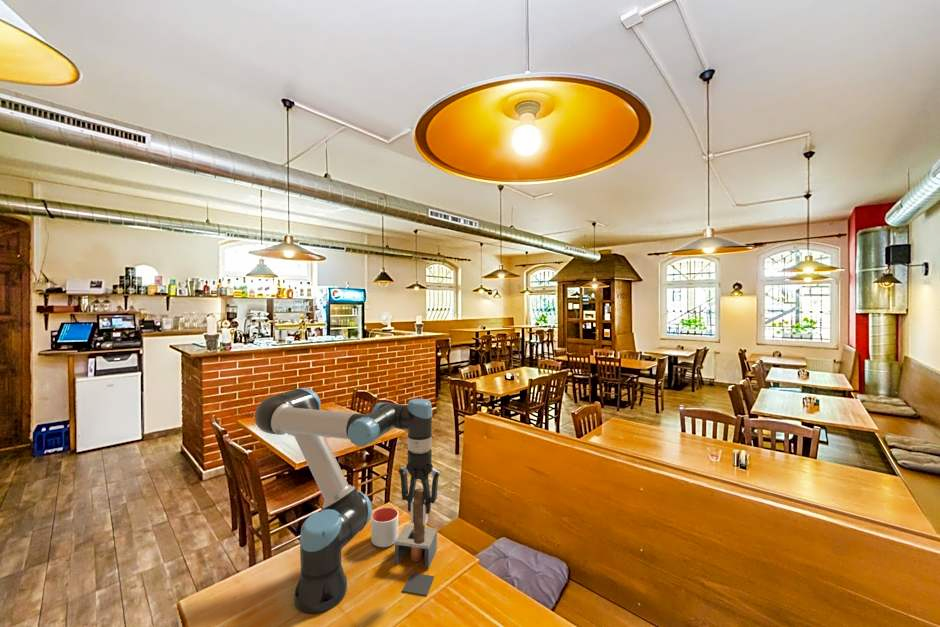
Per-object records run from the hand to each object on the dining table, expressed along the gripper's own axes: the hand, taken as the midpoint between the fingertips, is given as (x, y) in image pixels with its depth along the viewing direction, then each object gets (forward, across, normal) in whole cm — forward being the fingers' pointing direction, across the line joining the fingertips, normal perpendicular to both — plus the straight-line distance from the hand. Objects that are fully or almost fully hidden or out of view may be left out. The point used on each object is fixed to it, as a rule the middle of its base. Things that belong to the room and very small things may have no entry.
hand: (419, 521), depth 120 cm
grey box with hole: (+20, -5, +12) cm, 24 cm away
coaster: (+20, 0, 0) cm, 20 cm away
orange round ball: (+21, -5, +12) cm, 24 cm away
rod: (+6, 0, 0) cm, 6 cm away
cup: (+21, -20, +18) cm, 34 cm away
